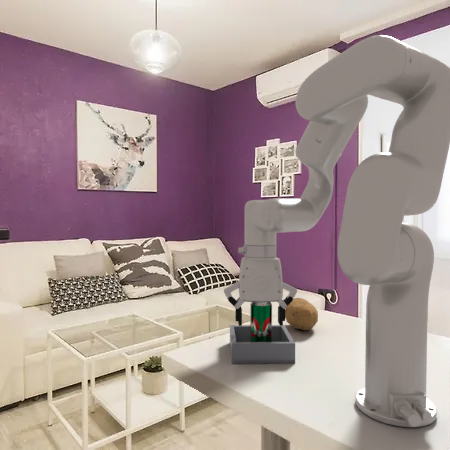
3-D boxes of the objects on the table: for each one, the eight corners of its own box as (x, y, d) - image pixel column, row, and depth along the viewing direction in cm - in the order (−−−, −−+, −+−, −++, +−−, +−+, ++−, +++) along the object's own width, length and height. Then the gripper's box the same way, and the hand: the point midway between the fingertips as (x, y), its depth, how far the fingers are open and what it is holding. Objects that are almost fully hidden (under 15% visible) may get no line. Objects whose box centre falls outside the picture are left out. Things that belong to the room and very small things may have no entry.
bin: (295, 363, 86) (295, 343, 86) (231, 364, 86) (231, 343, 86) (284, 342, 100) (284, 325, 100) (229, 342, 100) (229, 325, 100)
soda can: (271, 346, 95) (271, 297, 95) (271, 353, 90) (272, 302, 90) (250, 345, 96) (250, 296, 95) (249, 352, 91) (250, 301, 90)
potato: (288, 336, 105) (288, 306, 105) (281, 321, 119) (281, 295, 119) (324, 336, 105) (324, 307, 105) (313, 321, 119) (313, 295, 119)
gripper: (224, 254, 88) (224, 329, 89) (300, 254, 89) (299, 328, 89) (223, 250, 96) (223, 320, 97) (293, 250, 96) (293, 319, 97)
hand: (260, 324), depth 93 cm, fingers open, 9 cm apart
